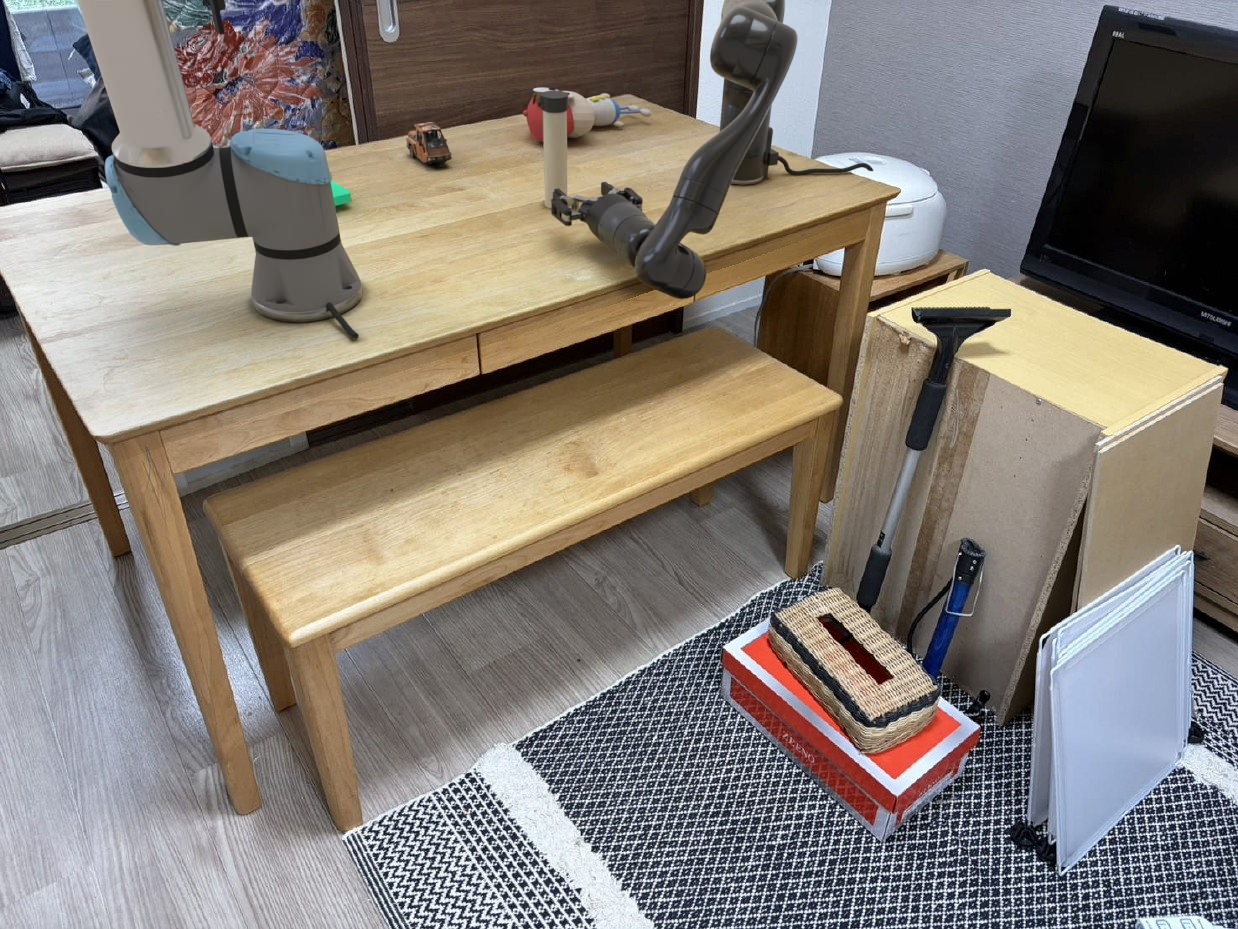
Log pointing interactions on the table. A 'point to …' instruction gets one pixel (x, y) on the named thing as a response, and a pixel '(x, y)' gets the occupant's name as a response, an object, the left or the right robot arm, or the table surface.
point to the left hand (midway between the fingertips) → (176, 37)
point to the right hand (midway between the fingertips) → (579, 190)
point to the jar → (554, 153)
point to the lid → (554, 101)
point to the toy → (579, 113)
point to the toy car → (428, 144)
